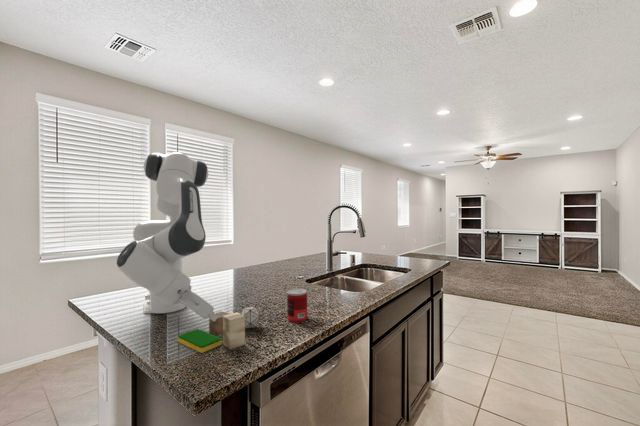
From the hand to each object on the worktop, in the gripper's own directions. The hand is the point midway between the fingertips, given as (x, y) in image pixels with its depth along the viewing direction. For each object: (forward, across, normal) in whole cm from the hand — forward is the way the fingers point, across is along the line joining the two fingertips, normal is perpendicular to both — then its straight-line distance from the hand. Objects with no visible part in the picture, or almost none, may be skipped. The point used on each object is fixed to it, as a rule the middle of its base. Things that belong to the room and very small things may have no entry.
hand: (209, 314), depth 87 cm
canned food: (+34, +3, -17) cm, 38 cm away
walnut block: (+14, +13, +2) cm, 19 cm away
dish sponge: (+9, +9, +8) cm, 15 cm away
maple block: (+14, 0, +2) cm, 14 cm away
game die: (+21, +8, -4) cm, 23 cm away
